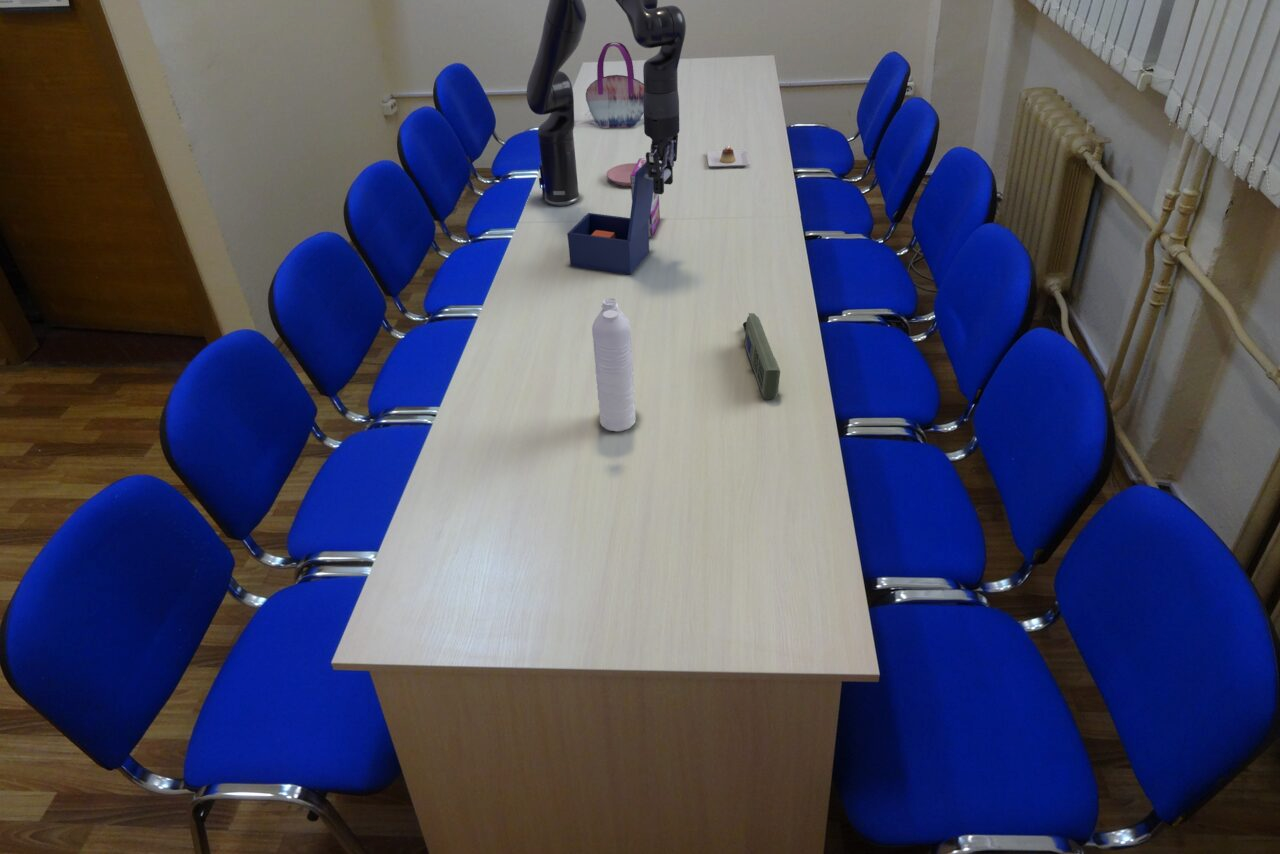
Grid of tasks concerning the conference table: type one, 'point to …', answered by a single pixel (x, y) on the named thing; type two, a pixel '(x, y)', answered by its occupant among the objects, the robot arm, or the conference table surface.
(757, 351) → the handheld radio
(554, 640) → the conference table surface
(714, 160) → the dessert
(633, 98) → the handbag
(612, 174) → the plate
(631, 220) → the case lid
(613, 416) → the water bottle
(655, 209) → the candy bar box
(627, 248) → the case
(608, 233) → the cube
